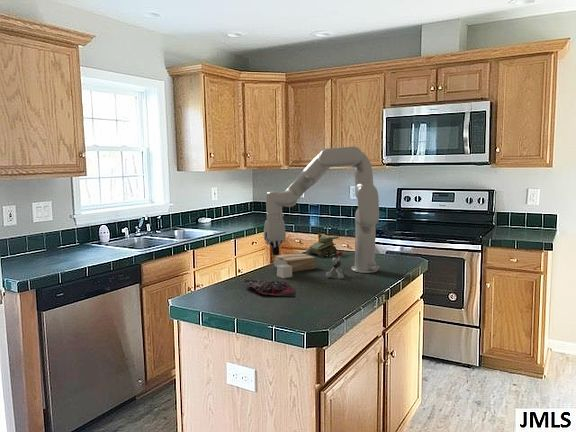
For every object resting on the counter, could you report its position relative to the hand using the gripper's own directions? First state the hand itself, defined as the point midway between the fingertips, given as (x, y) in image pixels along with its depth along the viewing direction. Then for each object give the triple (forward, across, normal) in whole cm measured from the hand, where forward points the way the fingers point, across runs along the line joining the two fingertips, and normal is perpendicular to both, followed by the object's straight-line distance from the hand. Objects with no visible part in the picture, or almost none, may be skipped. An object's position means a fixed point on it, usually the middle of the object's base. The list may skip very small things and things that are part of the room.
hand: (275, 254), depth 234 cm
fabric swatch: (+8, +22, +29) cm, 37 cm away
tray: (+7, -9, +1) cm, 11 cm away
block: (+7, +4, +13) cm, 16 cm away
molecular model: (+9, -17, +25) cm, 32 cm away
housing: (+8, -10, +1) cm, 13 cm away
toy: (+9, -44, -16) cm, 47 cm away
